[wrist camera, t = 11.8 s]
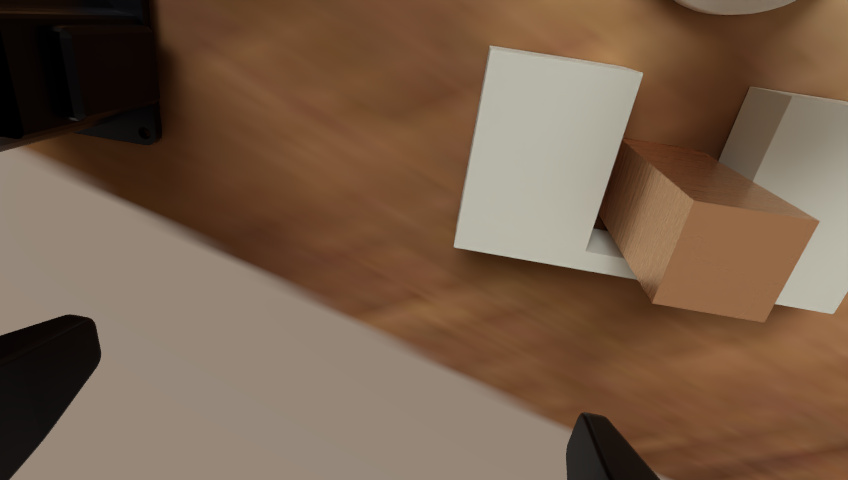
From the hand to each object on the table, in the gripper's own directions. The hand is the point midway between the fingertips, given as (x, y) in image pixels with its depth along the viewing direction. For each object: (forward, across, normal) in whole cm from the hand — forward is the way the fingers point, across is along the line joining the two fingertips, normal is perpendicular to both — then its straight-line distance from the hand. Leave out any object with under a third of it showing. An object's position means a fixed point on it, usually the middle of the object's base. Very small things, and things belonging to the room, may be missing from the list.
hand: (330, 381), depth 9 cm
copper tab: (+12, -9, -2) cm, 15 cm away
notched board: (+12, -9, -2) cm, 15 cm away
